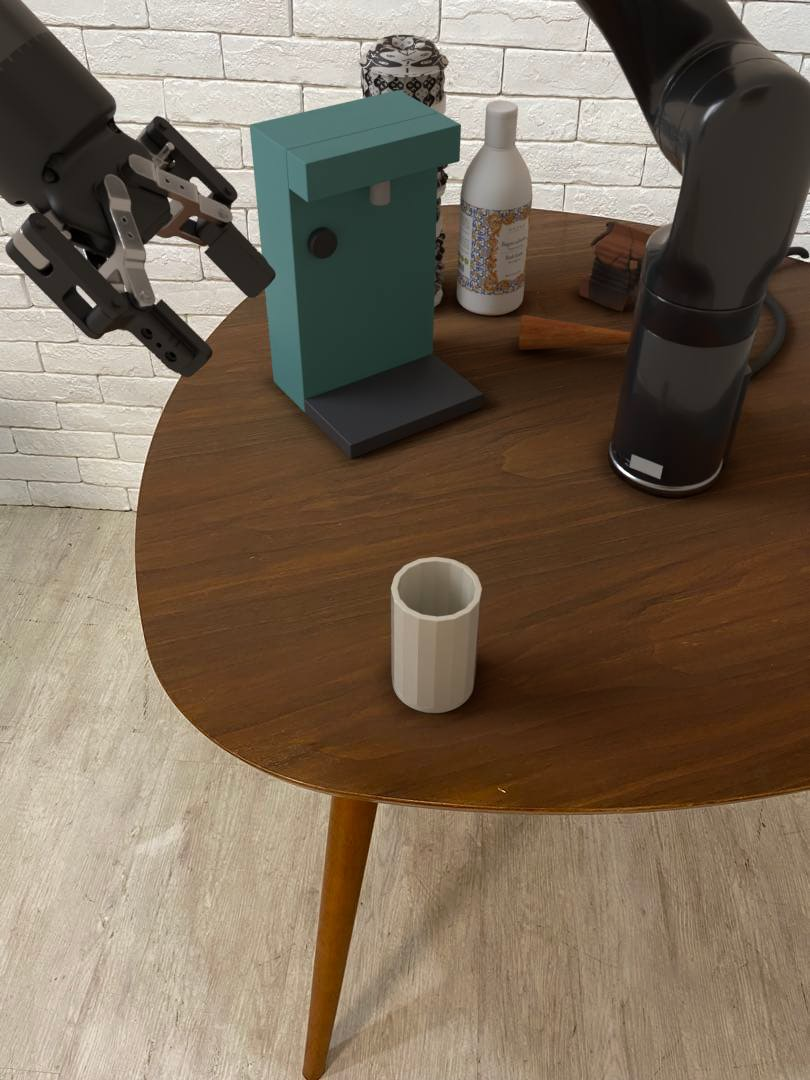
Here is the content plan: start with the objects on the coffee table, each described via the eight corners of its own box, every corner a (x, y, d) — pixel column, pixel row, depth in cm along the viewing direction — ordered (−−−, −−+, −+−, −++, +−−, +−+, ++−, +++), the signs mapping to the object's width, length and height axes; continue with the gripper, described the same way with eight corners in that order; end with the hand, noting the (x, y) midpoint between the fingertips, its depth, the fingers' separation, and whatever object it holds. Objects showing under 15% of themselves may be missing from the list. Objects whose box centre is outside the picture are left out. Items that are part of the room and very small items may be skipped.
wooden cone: (526, 292, 103) (738, 302, 98) (524, 350, 106) (730, 362, 102) (518, 312, 98) (741, 323, 94) (516, 373, 101) (732, 385, 97)
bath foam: (482, 324, 106) (494, 125, 92) (443, 295, 110) (449, 101, 97) (536, 305, 109) (555, 109, 95) (495, 278, 113) (509, 87, 99)
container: (443, 638, 74) (447, 545, 68) (490, 690, 71) (499, 597, 65) (376, 671, 72) (374, 578, 66) (422, 726, 69) (424, 633, 63)
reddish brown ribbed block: (555, 287, 112) (584, 211, 110) (622, 310, 117) (650, 237, 115) (620, 313, 103) (653, 230, 100) (690, 336, 107) (722, 257, 105)
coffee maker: (398, 338, 104) (398, 89, 88) (482, 407, 95) (500, 145, 79) (273, 381, 98) (248, 124, 82) (351, 459, 90) (340, 188, 73)
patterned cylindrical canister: (343, 306, 108) (334, 52, 92) (379, 266, 115) (377, 22, 98) (425, 324, 106) (431, 66, 89) (458, 283, 112) (469, 34, 95)
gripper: (-62, 82, 44) (220, 360, 49) (104, -11, 54) (324, 228, 59) (-128, 188, 49) (137, 431, 54) (36, 84, 59) (246, 298, 64)
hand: (235, 325), depth 57 cm, fingers open, 8 cm apart
